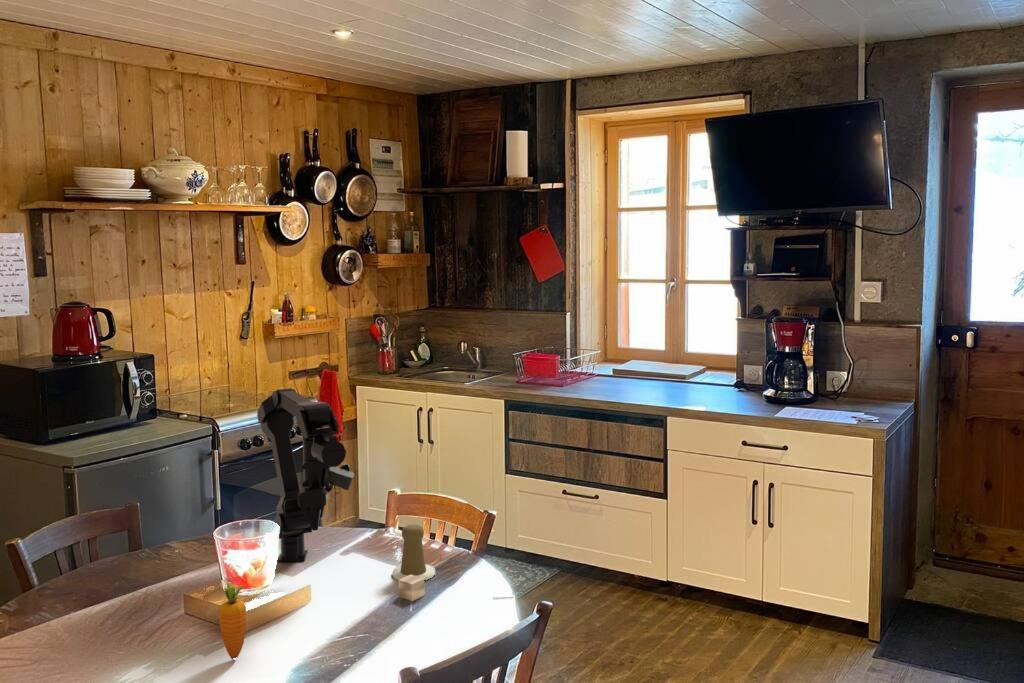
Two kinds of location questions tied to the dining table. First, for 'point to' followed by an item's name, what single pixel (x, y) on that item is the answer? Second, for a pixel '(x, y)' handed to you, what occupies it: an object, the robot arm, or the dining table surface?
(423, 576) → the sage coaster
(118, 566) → the dining table surface
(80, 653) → the dining table surface
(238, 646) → the carrot
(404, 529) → the pepper mill
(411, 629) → the dining table surface
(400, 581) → the marked birch block
